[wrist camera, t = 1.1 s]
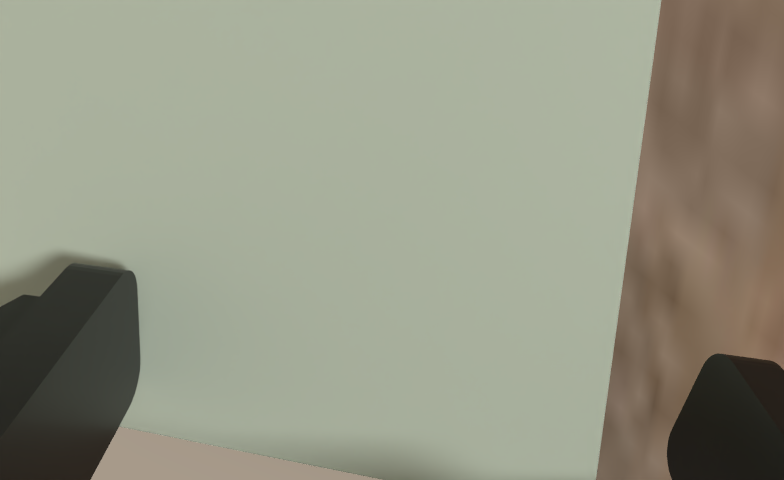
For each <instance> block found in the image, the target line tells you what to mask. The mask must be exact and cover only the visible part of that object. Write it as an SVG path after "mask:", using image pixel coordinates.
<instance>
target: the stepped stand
mask: <svg viewBox="0 0 784 480" xmlns="http://www.w3.org/2000/svg"><path fill="white" fill-rule="evenodd" d="M660 5H661V0H0V307H1V306H2V305H4V304H6V303H8V302H10V301H12V300H14V299H16V298H18V297H19V296H21V295H23V294H25V295H32V296H41V295H42V294H43V292H44V291H45V290H46V289H47V288H48V287H49V286H50V285H51V284H52V283H53V282H54V280H55V279H56V278H57V277H58V276H59V275H60V274H61V273H62V272H63V271H64V269H65V268H66V267H68V266H69V265H70V264H72V263H79V264H86V265H94V266H101V267H108V268H115V269H123V270H130V271H132V272H133V273H134V274H135V277H136V281H137V290H138V313H139V336H140V373H139V379H138V384H137V388H136V391H135V395H134V397H133V400H132V403H131V405H130V407H129V409H128V411H127V413H126V414H125V416H124V418H123V420H122V422H121V424H120V426H119V427H124V428H129V429H134V430H139V431H144V432H149V433H154V434H159V435H164V436H169V437H174V438H179V439H184V440H189V441H194V442H199V443H204V444H209V445H214V446H218V447H223V448H228V449H233V450H239V451H243V452H248V453H253V454H258V455H263V456H268V457H273V458H278V459H283V460H288V461H293V462H298V463H303V464H308V465H313V466H318V467H323V468H328V469H333V470H338V471H343V472H348V473H353V474H358V475H363V476H368V477H372V478H378V479H383V480H596V474H597V467H598V460H599V452H600V445H601V438H602V430H603V423H604V416H605V408H606V401H607V394H608V386H609V379H610V372H611V364H612V357H613V350H614V342H615V335H616V328H617V320H618V313H619V306H620V298H621V291H622V284H623V276H624V269H625V262H626V254H627V247H628V240H629V232H630V225H631V218H632V210H633V203H634V196H635V189H636V181H637V174H638V167H639V159H640V152H641V145H642V137H643V130H644V123H645V115H646V108H647V101H648V93H649V86H650V79H651V71H652V64H653V57H654V49H655V42H656V35H657V27H658V20H659V13H660Z"/></svg>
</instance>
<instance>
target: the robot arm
mask: <svg viewBox="0 0 784 480" xmlns="http://www.w3.org/2000/svg"><path fill="white" fill-rule="evenodd" d="M139 373H140V336H139V313H138V290H137V281H136V277H135V274H134V273H133V272H132V271H130V270H123V269H115V268H108V267H101V266H94V265H86V264H79V263H72V264H70V265H69V266H68V267H66V268H65V269H64V271H63V272H62V273H61V274H60V275H59V276H58V277H57V278H56V279H55V280H54V282H53V283H52V284H51V285H50V286H49V287H48V288H47V289H46V290H45V291H44V292H43V294H42V295H41V296H32V295H25V294H23V295H21V296H19V297H18V298H16V299H14V300H12V301H10V302H8V303H6V304H4V305H2V306H1V307H0V480H90V479H91V477H92V476H93V474H94V472H95V470H96V468H97V466H98V464H99V462H100V461H101V459H102V457H103V455H104V453H105V451H106V450H107V448H108V446H109V444H110V442H111V440H112V438H113V437H114V435H115V433H116V431H117V429H118V427H119V426H120V424H121V422H122V420H123V418H124V416H125V414H126V413H127V411H128V409H129V407H130V405H131V403H132V400H133V397H134V395H135V391H136V388H137V384H138V379H139ZM667 460H668V467H669V472H670V475H671V478H672V480H784V370H783V369H782V368H781V367H780V366H779V365H778V364H777V363H775V362H773V361H769V360H762V359H754V358H747V357H740V356H733V355H726V354H714V355H712V356H711V357H710V358H708V359H707V361H706V362H705V363H704V365H703V367H702V369H701V371H700V373H699V375H698V377H697V379H696V381H695V383H694V385H693V387H692V389H691V391H690V394H689V396H688V398H687V400H686V402H685V404H684V406H683V408H682V410H681V412H680V414H679V416H678V418H677V420H676V422H675V424H674V426H673V428H672V431H671V433H670V436H669V440H668V447H667Z"/></svg>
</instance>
